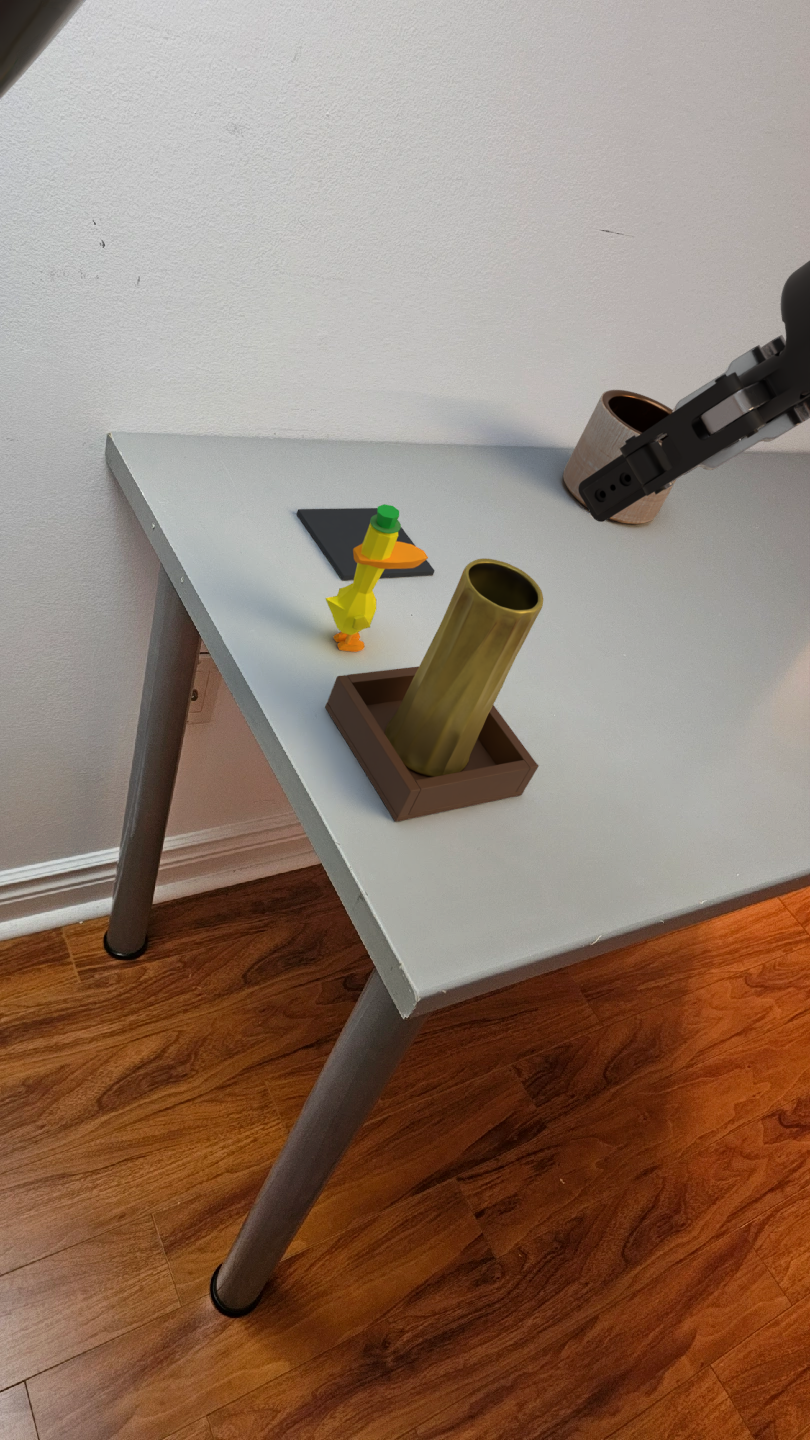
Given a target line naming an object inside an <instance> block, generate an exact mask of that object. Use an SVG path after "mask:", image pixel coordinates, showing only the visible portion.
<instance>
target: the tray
mask: <svg viewBox="0 0 810 1440" xmlns="http://www.w3.org/2000/svg"><path fill="white" fill-rule="evenodd" d="M419 666H420V665H419ZM419 666H411V667H402V668H393V669H385V670H376V671H368V672H367V671H366V672H359V673H351V674H341V675H337V676H336V678H335V681H334V683H333V686H332V688H331V691H330V694H329V697H328V699H327V702H326V703H325V707H324V708H325V709H326V711H327V712H328V714H329V716H330V717H331V719H332V721H333V722H334V724H335V725H336V727H337V729H338V731H339V732H340V734H341V736H342V737H343V739H344V741H345V742H346V745H348V747H349V749H350V750H351V753H352V754H353V755H354V757H355V758H356V760H357V762H358V763H359V765H360V767H361V768H362V770H363V771H364V773H365V774H366V776H367V778H368V779H369V781H370V783H371V784H372V786H373V787H374V789H375V791H376V793H377V794H378V796H379V798H380V799H381V801H382V802H383V804H384V806H385V807H386V809H387V811H388V812H389V814H390V816H391V817H392V819H393V820H394V822H395V823H397V822H402V821H407V820H413V819H416V818H420V817H425V816H430V815H435V814H440V813H445V812H449V811H454V810H458V809H462V808H467V807H472V806H477V805H483V804H486V803H490V802H496V801H501V800H506V799H509V798H516V797H520V796H522V795H523V793H524V792H525V790H526V788H527V787H528V785H529V783H530V782H531V780H532V778H533V777H534V775H535V773H536V772H537V770H538V768H539V764H538V763H537V762H536V760H535V759H534V758H533V756H532V755H531V754H530V752H529V751H528V750H527V748H526V747H525V745H524V744H523V743H522V741H521V739H519V737H518V736H517V734H516V733H515V732H514V730H513V729H512V728H511V726H510V725H509V724H508V722H507V721H506V720H505V718H504V717H503V716H502V714H501V713H500V711H499V710H498V709H497V708H496V706H495V704H493V706H492V708H491V710H490V712H489V714H488V716H487V718H486V720H485V723H484V725H483V727H482V729H481V732H480V734H479V736H478V738H477V741H476V743H475V745H474V747H473V749H472V752H471V754H470V757H469V762H468V763H467V765H466V766H465V768H464V769H463V770H462V771H460V772H457V773H452V774H447V775H441V776H436V777H431V776H426V775H423V774H420V773H417V772H415V771H413V770H411V769H409V768H408V767H406V766H405V765H404V763H403V762H402V760H401V759H400V757H399V755H398V754H397V752H396V751H395V749H394V748H393V746H392V745H391V743H390V741H389V740H388V738H387V737H386V735H385V730H386V727H387V724H388V723H389V721H390V720H391V719H392V717H393V716H394V715H395V714H396V712H397V710H398V708H399V707H400V705H401V703H402V701H403V698H404V696H405V694H406V692H407V690H408V688H409V686H410V684H411V682H412V680H413V678H414V676H415V674H416V672H417V670H418V668H419Z"/></svg>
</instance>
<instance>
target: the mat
mask: <svg viewBox="0 0 810 1440" xmlns="http://www.w3.org/2000/svg"><path fill="white" fill-rule="evenodd" d="M377 512H378V507H353V508H350V507H348V508H298V509H297V511H296V515H297V517H298V518H299V519H300V521H301V522H302V524H303V525H304V527H305V528H306V530H307V531H308V533H309V534H310V535H311V537H312V538H313V540H314V542H315V543H316V545H317V546H318V547H319V549H320V550H321V552H322V553H323V554H324V556H325V557H326V559H327V560H328V561H329V563H330V565H331V566H332V568H334V570H335V572H336V573H337V574H338V576H339V578H340V579H341V580H342V581H354V577H355V572H356V567H357V562H355V560H354V555H353V549H354V548H355V547H357V546H359V545H361V544H362V543H363V541H364V539H365V536H366V533H367V530H368V528H369V525H370V520H371V517H372V516H374V515H376V514H377ZM396 541H398V542H403V543H408V544H412V545H414V546H416V544H415V543H414V541H413V540H412V539H411V538H410V537H409V535H408V534H407V532H406V531H405V530H404V528H403V527H402V526H401V528H400V530H399V531H398V537H397V540H396ZM435 571H436V570H435V569H434V568H433V566H432V565H431V563H430V562H429V561H428V559H426V560H425V561H424V562H423V563H421V564H420V565H419V566H417V567H415V568H407V569H384V571H383V573H382V575H381V576H380V578H379V579H388V578H389V579H390V578H406V577H424V576H425V577H426V576H434V573H435Z"/></svg>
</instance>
